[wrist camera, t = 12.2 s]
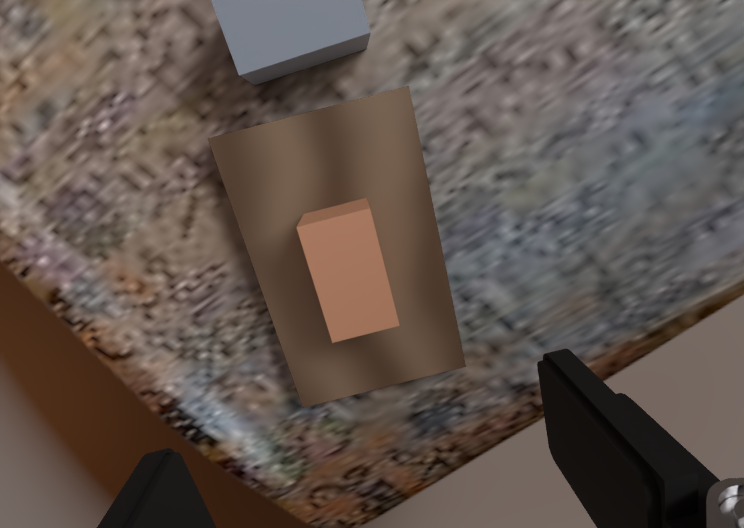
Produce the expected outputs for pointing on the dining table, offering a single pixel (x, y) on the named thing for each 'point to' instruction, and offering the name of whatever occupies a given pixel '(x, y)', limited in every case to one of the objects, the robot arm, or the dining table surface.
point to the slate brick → (290, 34)
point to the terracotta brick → (348, 270)
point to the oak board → (392, 224)
